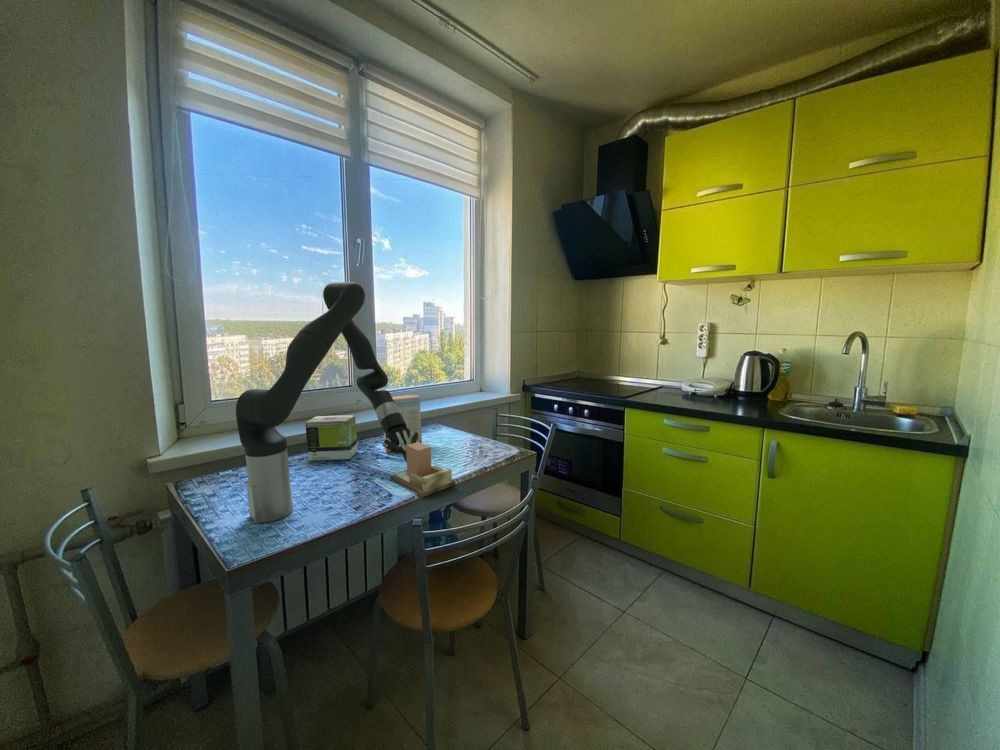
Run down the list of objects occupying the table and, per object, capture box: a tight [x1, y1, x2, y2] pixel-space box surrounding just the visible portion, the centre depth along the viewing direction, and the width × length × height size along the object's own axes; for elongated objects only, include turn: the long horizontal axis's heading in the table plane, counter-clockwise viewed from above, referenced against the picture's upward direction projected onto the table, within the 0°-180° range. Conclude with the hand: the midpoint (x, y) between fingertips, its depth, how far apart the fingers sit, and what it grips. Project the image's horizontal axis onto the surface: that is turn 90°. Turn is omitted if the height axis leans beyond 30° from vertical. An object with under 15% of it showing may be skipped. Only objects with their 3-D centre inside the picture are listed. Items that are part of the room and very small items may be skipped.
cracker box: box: [383, 394, 423, 453], centre depth 151 cm, size 14×6×21 cm, turn 114°
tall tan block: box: [406, 442, 432, 477], centre depth 121 cm, size 4×7×10 cm, turn 45°
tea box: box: [304, 414, 358, 461], centre depth 143 cm, size 15×10×15 cm
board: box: [389, 465, 456, 498], centre depth 120 cm, size 12×18×5 cm, turn 45°
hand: (411, 461), depth 124 cm, fingers closed
